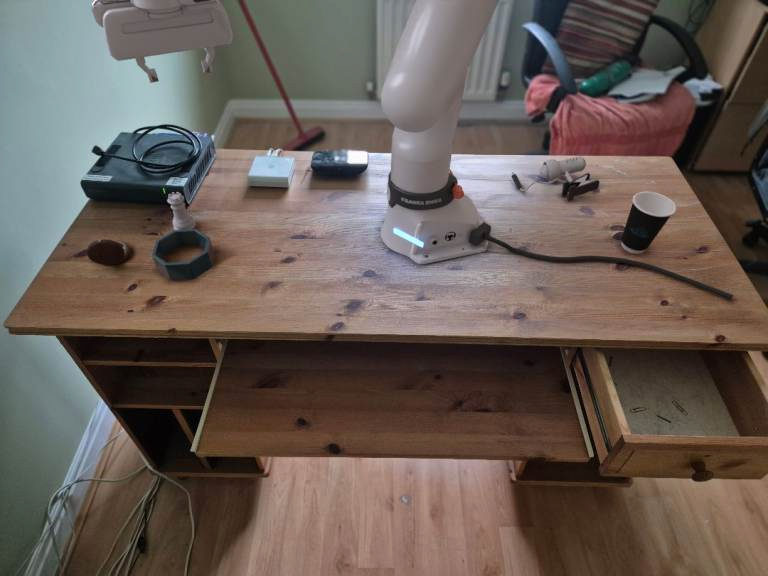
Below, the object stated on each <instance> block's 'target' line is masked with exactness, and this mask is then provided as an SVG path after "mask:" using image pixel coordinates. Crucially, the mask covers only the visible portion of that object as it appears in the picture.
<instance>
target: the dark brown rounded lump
mask: <svg viewBox="0 0 768 576" xmlns="http://www.w3.org/2000/svg"><path fill="white" fill-rule="evenodd" d="M129 245H130V244H127V243H126V242H123V241H116V240H111V239H105V238H104V239H102V237H99V239H98V240H94V241H92V242H90V244H88V246H87V248H86V256H85V258H86V259H87V260H90V261H91V262H92V263H95V264H97V265H102V266H112V265H116V264H120V263H122V262H124V261H126V259H128V258H129V257H130V255H131V252H132V250H131V247H130V246H129Z"/></svg>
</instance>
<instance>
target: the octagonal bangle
mask: <svg viewBox="0 0 768 576" xmlns="http://www.w3.org/2000/svg"><path fill="white" fill-rule="evenodd" d="M188 247H189V248H190V247H201V248H202V249H203V250H204V251H203V252H201V253H200V254H198V255H196V256H195V257H193V258H191V259H190V260H189V261H181V262H180V261H179V262H166V261H165V258H166V257H167V256H168V255H170V254H171V253H173V252H176V251H177V250H179V249H181V248H188ZM215 254H216V252H215V249H214V247H213V243H212V239H211V237H210V236H208V235H207V234H205V233H203V232H202V231H201V230H199V229H197V228H193V229H187V230H175V229H174V230H172V231H171V232H169V233H167V234H165V235H164V236H162V237H161V238H159V239H157V240H156V241H155V243H154V246H153V249H152V252H151V258H152V259H153V262H154V265H155V268H156V269H157V272H159V273H160V274H162V275H163V276H164V277H165V278H166V279H168V280H169V281H173V282H174V281H186V280H194V279H195V280H196V279H197V278H199V277H200V276H201V275H203V274H204V273H206V272H207V271H209V270H210V269H212V268H213V265H214V259H215Z"/></svg>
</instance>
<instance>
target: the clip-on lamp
mask: <svg viewBox="0 0 768 576" xmlns="http://www.w3.org/2000/svg"><path fill="white" fill-rule="evenodd" d="M586 166H587V161H586V159H585V158H584V157H583V156H576V157H571V158H566V159H561V160H556V159H547V160H545V161H544V162H543V163H542V166H541V167H540V168H539V175H540V177H541V178H543V179H545V181H540V180H535V181H534V182H532V183H531V184H530V185H528V186H527V187H526V189H523V185H522V183H521V181H520V179H519V177H518V176H517V174H516V173H514V172H513V171H511V172H510V173H511V179H512V180H513V181H512V182H513V183H514V184H515V186H516V188H517V190H520V191H521V192H526V191H528V190H529V189H530V188H531V187H532V186H534V184H536V183H537V184H542V185H551V184H553V183H555V182H560V183H562V190H561V196H562V198H565V197H567V201H568V202H571V201H573V200H574V198H575V197H578V196H581V195H585V194H587V193H590V192H594V191H595V190H598V189H599V187H600V182H601V181H600V180H599V179H594V180H591V174H590V173H589V172H586V173H584V174H582V175H581V176H578V177H577V178H575V179H573V178H572V176H571V174H575V173H580V172H583V171H584V170H585V169H586ZM562 176H565V178H566V181H564V180H562V179H560V177H562Z"/></svg>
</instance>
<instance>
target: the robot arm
mask: <svg viewBox="0 0 768 576" xmlns="http://www.w3.org/2000/svg"><path fill="white" fill-rule="evenodd" d="M499 2H500V0H415V2H414V5H413V7H412V10H411V13H410V14H409V17H408V19H407V21H406V24H405V26H404V29H403V31H402V33H401V35H400V36H401V37H400V39H399V42H398V44H397V47H396V49H395V51H394V54H393V57H392V60H391V62H390V65H389V67H388V70H387V73H386V76H385V78H384V82H383V84H382V85H383V86H382V89H381V93H380V104H381V109H382V112H383V115H384V117H386V119H387V120H388V121H389V122H390V124H392V126H394V128H393V132H392V138H391V154H390V171H389V173H388V178H387V183H386V184H387V186H386V200H387V208H386V214H385V217H384V220H383V223H382V225H381V229H380V237H381V240H382V242H383V243H384V244H385V246H386V247H387V248H388V249H390V250H392V251H393V252H395V253H397V254H399V255H403V256H405V257H408V258H409V259H410V260H412V261H413V262H414V263H416V264H418V265H428V264H431V263H436V262H442V261H445V260H451V259H455V258H456V259H457V258H460V257H465V256H470V255H475V254H479V253H483V252H486V251H487V249H488V246H489V242H490V243H492V244H495V245H497V246H499V247H501V248H503V249H505V250H507V251H509V252H511V253H514V254H517V255H519V256H523V257H527V258H531V259H535V260H541V261H547V262H555V263H556V262H557V263H575V262H587V261H589V262H590V261H594V262H609V263H616V264H625V265H629V266H633V267H638V268H642V269H646V270H649V271H652V272H655V273H658V274H660V275H661V274H662V275H664V276H666V277H670V278H672V279H674V280H677V281H680V282H683V283H686V284H688V285H691V286H694V287H695V288H699V289H702V290H704V291H707V292H710V293H712V294H714V295H717V296H719V297H722V298H725V299H726V300H727V299H728V300H733V298H734V294H731V293H728V292H726V291H723V290H721V289H718V288H716V287H713V286H711V285H709V284H708V285H707V284H705V283H703V282H700V281H698V280H695V279H692V278H690V277H688V276H687V277H686V276H683V275H681V274H679V273H675V272H673V271H669V270H667V269H666V268H665V269H664V268H662V267H659V266H656V265H652V264H649V263H646V262H642V261H638V260H633V259H628V258H622V257H615V256H605V255H604V256H603V255H579V256H555V255H554V256H552V255H546V254H545V255H544V254H539V253H533V252H530V251H526V250H523V249H519V248H517V247H514V246H512V245H510V244H508V243H507V242H505V241H502V240H500V239H498V238H495V237H493V236H491V231H492V225H490V224H488V223H486V222H484V220H483V218H482V217H481V216H480V214H479V211H478V209H477V206H476V205H475V203H474V201H473V200H472V198H470V196H468V195H467V194H465V191H464V189H463V187H462V186H461V185H459V181H458V178H457V176H455V175H454V173H453V171H452V169H451V163H452V155H453V148H454V142H455V137H456V132H457V126H458V123H459V118H460V112H461V107H462V103H463V97H464V92H465V88H466V82H467V77H468V71H469V67H470V65H471V62H472V61H473V59H474V56H475V54H476V52H477V49H478V48H479V46H480V43H481V41H482V39H483V37H484V35H485V32H486V31H487V28H488V26H489V24H490V22H491V20H492V18H493V15H494V13H495V11H496V9H497V6H498V4H499ZM91 12H92V14H93V18H94V20H95V23H97V25H98V26H99V27H101V28H102V31H103V34H104V39H105V42H106V46H107V49H108V53H109V55H110V56H111V57H112V58H113V59H114V60H116V61H118V62H120V61H121V62H122V61H127V60H134V59H135V62H136V64H137V66H138V67H139V68H140V69H141V70H142V71H143V72H144V73H145V74H146V75H147V78H148V81H149V83H150V84H152V83H158V82H159V77H158V73H157V70H156V68H155V67H154V68H149V66H148V65H147V64H146V63H147V62H146V58H147V57H155V56H160V55H161V56H162V55H167V54H174V53H180V52H188V51H193V50H201V49H204V50H205V52H206V56H205V59H204V60H200V63H201V66H202V72H203V73H204V74H205V75H206V74H213V73H214V70H213V66H212V63H213V61H214V58H215V56H216V50H215V49H216V48H215V47H221V46H227V45H228V46H229V45H231V43H232V41H233V39H234V33H233V30H232V25H231V22H230V19H229V15H228V12H227V10H226V8H225V7H224V5H223V3H222V2H221V1H220V0H94V1H93V2H92V4H91Z"/></svg>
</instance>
